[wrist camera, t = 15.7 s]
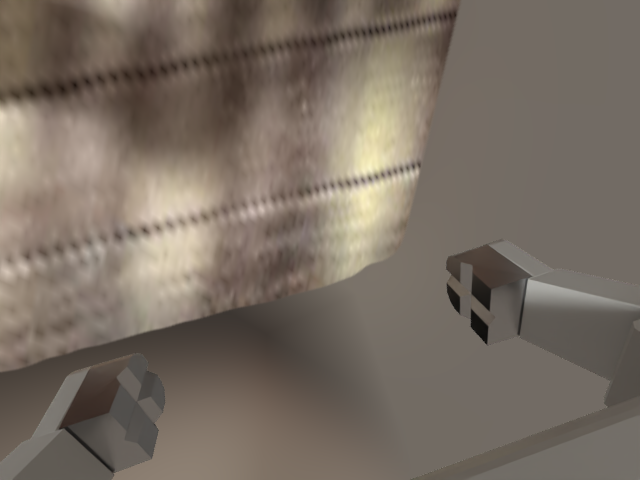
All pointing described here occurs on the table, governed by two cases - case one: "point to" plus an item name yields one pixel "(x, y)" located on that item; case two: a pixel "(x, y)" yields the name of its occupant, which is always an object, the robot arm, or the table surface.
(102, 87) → the table surface
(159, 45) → the table surface
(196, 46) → the table surface
